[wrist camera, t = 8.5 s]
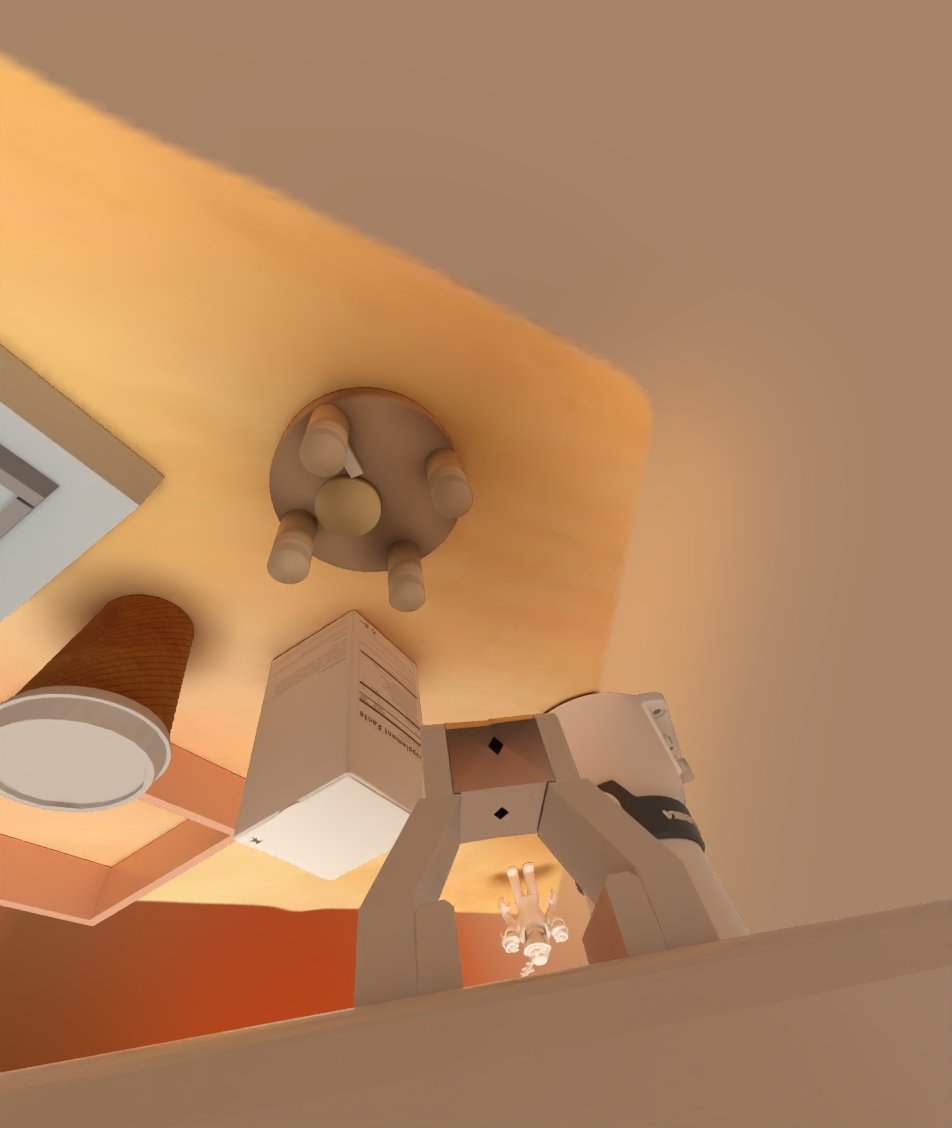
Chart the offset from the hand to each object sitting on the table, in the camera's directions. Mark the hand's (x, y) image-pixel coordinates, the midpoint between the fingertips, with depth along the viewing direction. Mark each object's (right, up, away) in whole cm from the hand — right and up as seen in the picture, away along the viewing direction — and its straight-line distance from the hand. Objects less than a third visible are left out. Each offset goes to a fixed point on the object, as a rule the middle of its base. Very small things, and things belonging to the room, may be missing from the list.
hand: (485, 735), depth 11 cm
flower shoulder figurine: (+6, -40, +60) cm, 72 cm away
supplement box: (-11, -5, +32) cm, 34 cm away
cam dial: (-7, +10, +23) cm, 26 cm away
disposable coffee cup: (-25, -1, +26) cm, 37 cm away
